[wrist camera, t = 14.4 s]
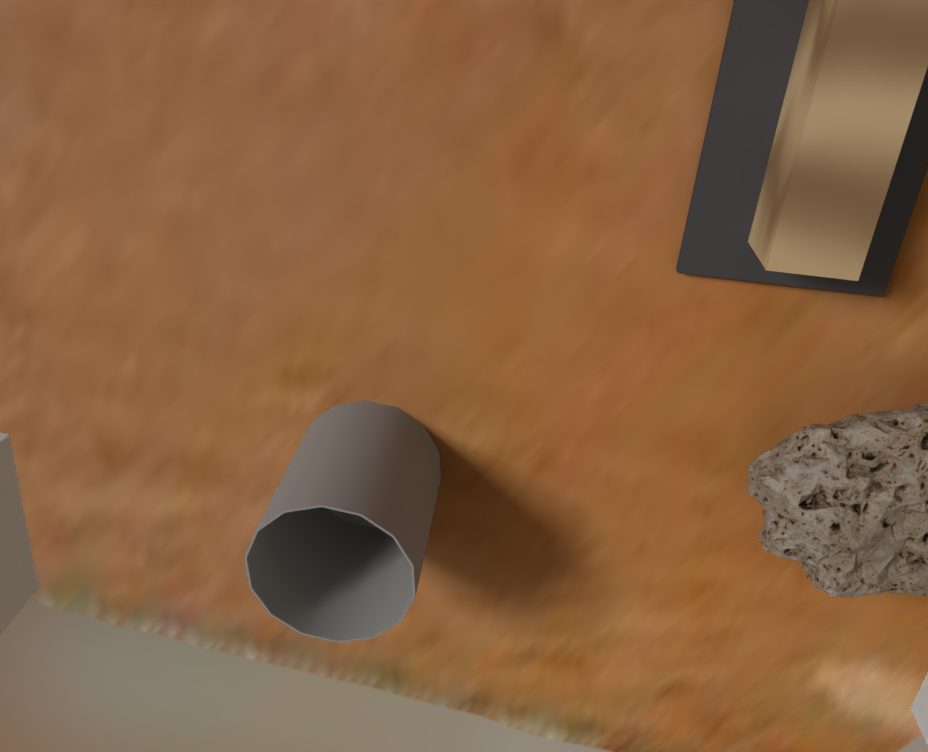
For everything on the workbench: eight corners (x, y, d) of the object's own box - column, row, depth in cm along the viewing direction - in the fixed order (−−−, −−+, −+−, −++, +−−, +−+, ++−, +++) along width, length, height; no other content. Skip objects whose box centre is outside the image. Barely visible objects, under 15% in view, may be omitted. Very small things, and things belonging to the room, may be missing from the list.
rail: (878, -272, 31) (918, -299, 28) (987, -263, 31) (1042, -289, 28) (748, 241, 41) (766, 270, 37) (831, 251, 40) (858, 280, 37)
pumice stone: (725, 538, 49) (754, 638, 42) (737, 355, 44) (772, 434, 37) (980, 536, 48) (1054, 640, 41) (1024, 346, 42) (1118, 426, 35)
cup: (465, 495, 50) (445, 615, 41) (347, 538, 52) (304, 660, 43) (396, 379, 47) (359, 481, 38) (274, 431, 49) (211, 538, 40)
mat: (808, -344, 31) (812, -349, 31) (1086, -321, 31) (1095, -326, 30) (676, 268, 42) (677, 272, 42) (879, 292, 42) (883, 296, 41)
